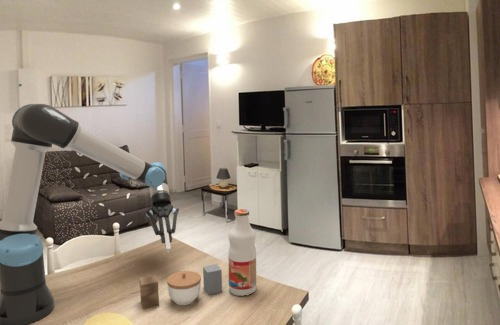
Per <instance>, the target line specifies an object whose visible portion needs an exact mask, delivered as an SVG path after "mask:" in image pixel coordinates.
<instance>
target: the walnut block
mask: <svg viewBox="0 0 500 325" xmlns="http://www.w3.org/2000/svg"><path fill="white" fill-rule="evenodd" d="M139 290H140V303H141V307H142V310H146V309H150V308H155V307H160V297H159V281H158V279H157V275H156V274H155V275H149V276H145V277H140V278H139Z"/></svg>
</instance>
